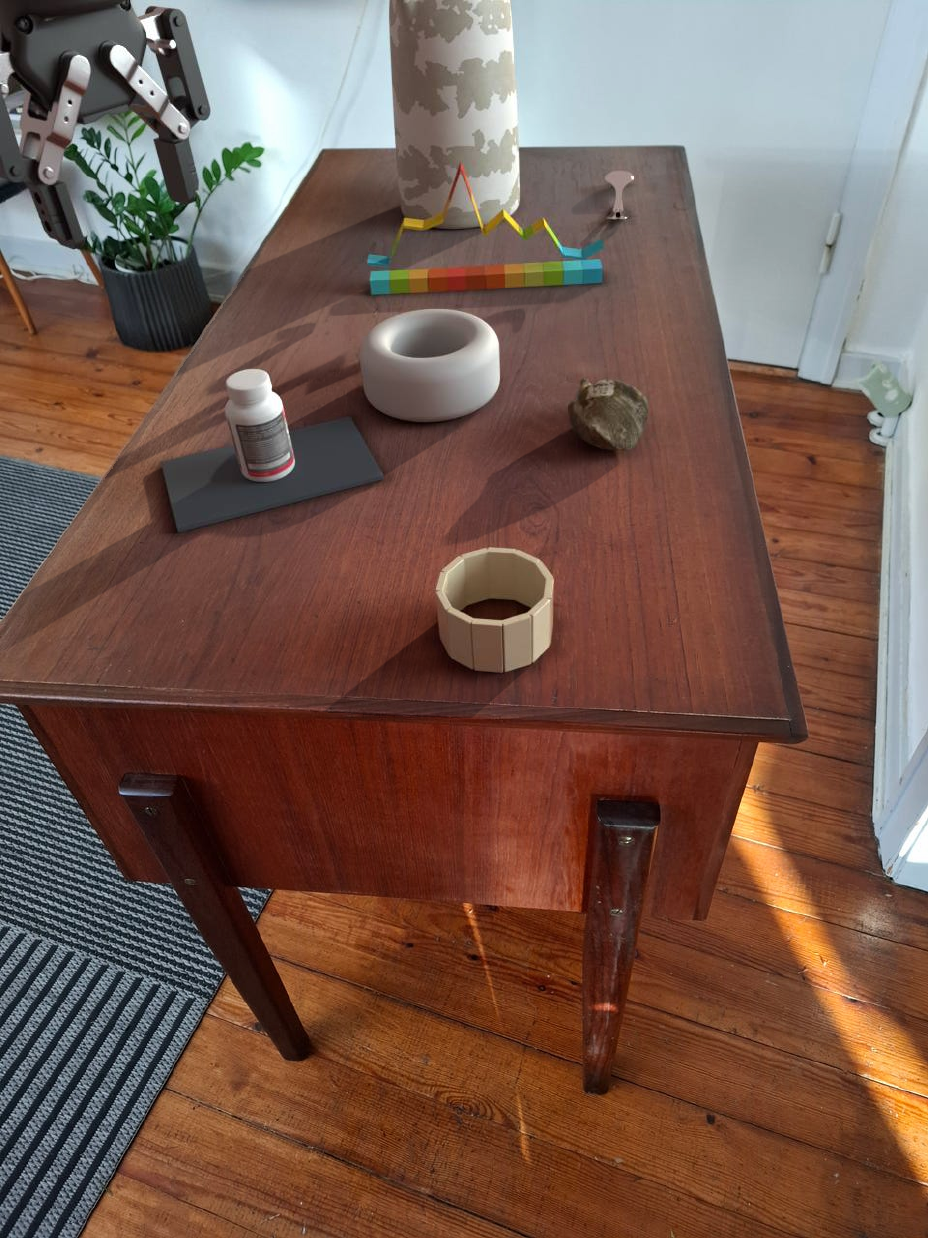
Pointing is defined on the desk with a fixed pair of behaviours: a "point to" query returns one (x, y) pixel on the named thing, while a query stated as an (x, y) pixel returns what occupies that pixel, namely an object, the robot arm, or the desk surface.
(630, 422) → the fossilized seashell
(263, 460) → the pill bottle
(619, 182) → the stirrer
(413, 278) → the chart
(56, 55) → the robot arm
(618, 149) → the desk surface
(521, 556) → the bracelet
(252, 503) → the mat
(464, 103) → the vase
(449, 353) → the fat ring
